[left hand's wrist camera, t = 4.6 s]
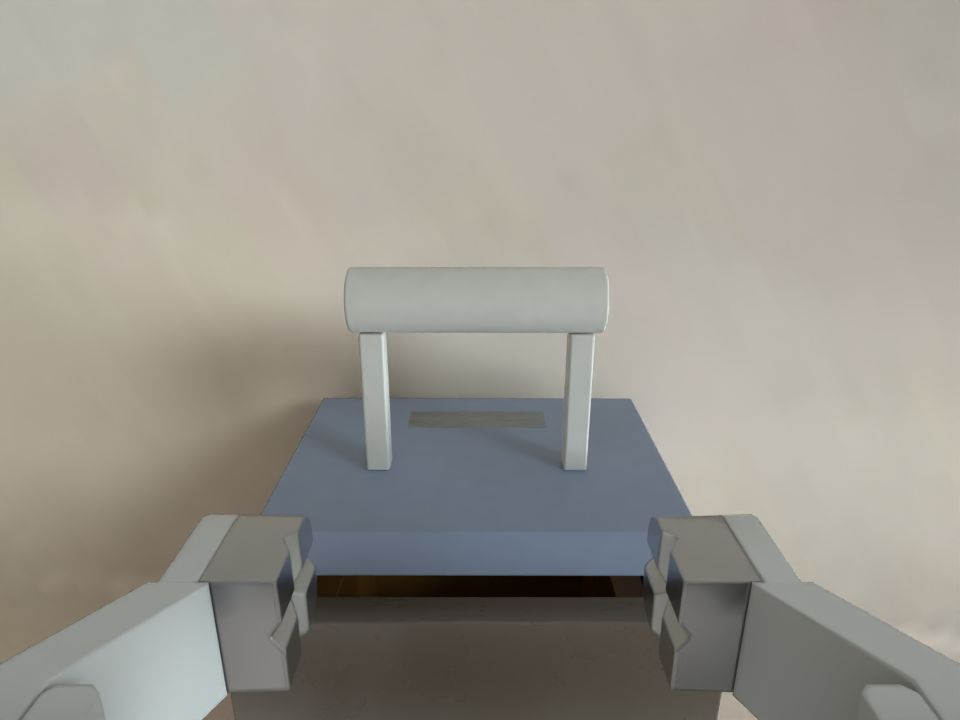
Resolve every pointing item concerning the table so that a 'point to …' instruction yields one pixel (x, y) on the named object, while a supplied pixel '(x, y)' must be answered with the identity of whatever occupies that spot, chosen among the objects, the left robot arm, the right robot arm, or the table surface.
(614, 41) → the table surface
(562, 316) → the drawer
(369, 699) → the cabinet
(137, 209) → the table surface
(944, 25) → the table surface
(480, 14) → the table surface
